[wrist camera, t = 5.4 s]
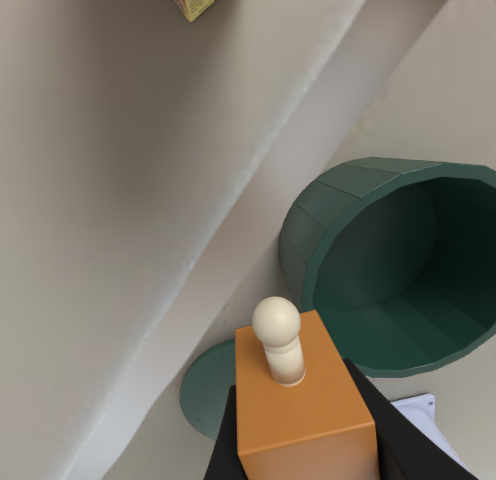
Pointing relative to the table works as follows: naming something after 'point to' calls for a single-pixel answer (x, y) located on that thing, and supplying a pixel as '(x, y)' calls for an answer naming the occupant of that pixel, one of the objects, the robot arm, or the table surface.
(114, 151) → the table surface
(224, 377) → the lid
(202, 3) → the candy box
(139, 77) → the table surface
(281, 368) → the orange block with knob
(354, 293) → the pot
